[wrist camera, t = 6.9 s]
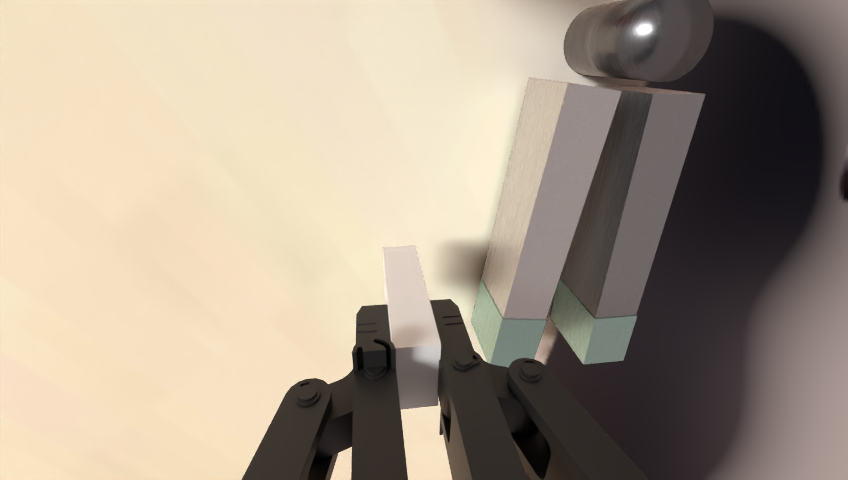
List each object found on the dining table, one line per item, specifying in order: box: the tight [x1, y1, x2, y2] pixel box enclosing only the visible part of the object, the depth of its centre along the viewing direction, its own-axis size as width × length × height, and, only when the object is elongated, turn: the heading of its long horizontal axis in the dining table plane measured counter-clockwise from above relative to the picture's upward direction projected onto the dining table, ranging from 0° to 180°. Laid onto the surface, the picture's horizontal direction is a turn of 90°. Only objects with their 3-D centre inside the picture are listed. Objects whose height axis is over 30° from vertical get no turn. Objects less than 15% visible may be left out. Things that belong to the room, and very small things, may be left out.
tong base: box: [550, 0, 714, 364], centre depth 20 cm, size 18×4×6 cm, turn 179°
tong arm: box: [471, 77, 622, 367], centre depth 20 cm, size 15×2×4 cm, turn 172°
